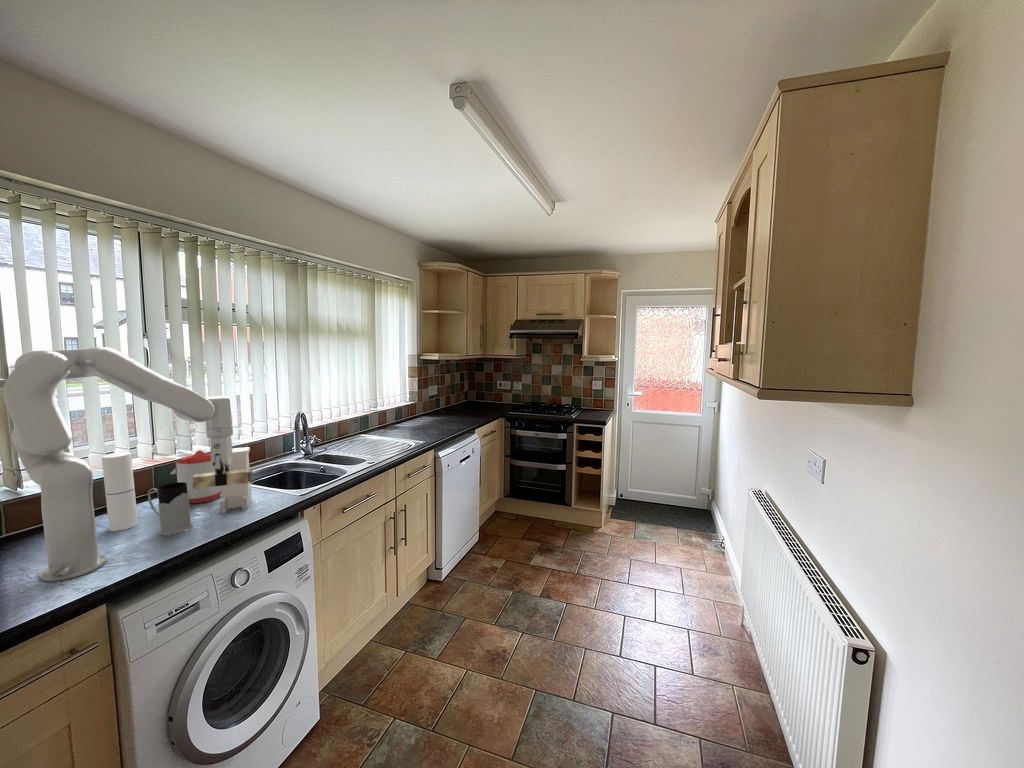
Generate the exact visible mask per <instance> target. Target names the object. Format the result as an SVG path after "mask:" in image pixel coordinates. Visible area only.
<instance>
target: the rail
mask: <svg viewBox="0 0 1024 768" xmlns="http://www.w3.org/2000/svg"><path fill="white" fill-rule="evenodd" d="M225 473H226V476H227V484H226V485H234V484H244V483H249V482H252V481H253V469H245V470H234V471H225ZM192 481H193V489H197V488H207V487H216V485H215V472H214V473H203V474H195V475H194V476H193V477H192ZM223 486H225V485H223Z"/></svg>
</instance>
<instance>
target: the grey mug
mask: <svg viewBox="0 0 1024 768" xmlns="http://www.w3.org/2000/svg"><path fill="white" fill-rule="evenodd" d="M152 490H154V491H155V492H156V494H157V498H158V503H157V504H158V510H157V509H156V507H155V505H154V504H153V501H152V497H151V493H152ZM147 499H148V502H149V506H150V508H151V509H152V511H153V512H154V513H155V514H156V515H157V516H158V517H159V523H160V527H159V528H160V529H159V533H160V534H162V535H161V536H169V535H168V534H174V535H176V534H175V533H178V534H180V533H179V532H182V531H184V532H186V531H185V530H187V529H189V528H191V527H192V526H193V523H192V521H191V511H190V504H189V496H188V492H187V483H185V482H171V483H166V484H163V485H160V486H159V487H158V488H155V487H153V488H151V489H149V490H148V491H147ZM193 527H194V526H193ZM193 527H192V528H193ZM192 528H191V529H192ZM189 530H190V529H189ZM187 531H188V530H187ZM182 533H183V532H182ZM160 534H159V535H160Z"/></svg>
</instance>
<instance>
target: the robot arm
mask: <svg viewBox="0 0 1024 768" xmlns="http://www.w3.org/2000/svg"><path fill="white" fill-rule="evenodd" d="M91 377H97V378H99V379H102V380H103V381H105V382H108V383H109V384H111V385H113V386H116V387H117V388H119V389H122V390H123V391H126V393H129V394H131V395H133V396H135V397H137V398H140V399H142V400H144V401H148V402H152V403H155V404H158V405H161V406H164V407H166V408H169V409H171V410H173V412H174V414H175V416H176V417H178V418H179V419H181V420H185V421H189V422H196V423H203V422H205V428H206V429H205V430H206V432H205V433H206V438H207V439H209V440H210V441H209V442H210V443H209V445H210V450H209V451H210V452H209V453H211V465H212V466H215V485H216V486H223V485H226V484H227V476H226V473H225V471H229V464H230V463H231V461H232V460H233V440H232V436H233V435H234V430H233V429H234V428H233V427H234V426H233V409H232V408H233V407H232V398H231V397H230V396H227V395H216V396H215V395H214V396H209V397H208V396H207V397H204V396H202V395H200V394H199V393H198V392H196V391H194V390H191V389H190V388H188V387H186V386H184V385H182V384H179V383H177V382H175V381H173V380H171V379H170V378H167V377H165V376H163V375H161V374H159V373H157V372H156V371H154V370H152V369H150V368H148V367H146V366H145V365H143V364H141V363H140V362H138V361H136V360H134V359H133V358H130V357H129V356H128V355H126V354H124V353H122V352H120V351H118V350H116V349H114V348H111V347H105V346H104V347H103V346H102V347H101V346H100V347H86V348H85V347H84V348H77V349H76V348H73V349H54V350H53V349H52V350H50V349H49V350H48V349H47V350H33V351H28V352H25V353H23V354H21V355H20V356H19V357H17V359H16V360H15V362H14V369H13V370H12V371H11V373H9V375H8V377H7V379H6V380H5V382H4V386H3V390H2V395H3V401H4V404H5V407H6V410H7V412H8V414H9V416H10V417H9V418H10V419H11V422H12V423H13V426H14V427H13V429H12V431H11V435H10V438H11V443H12V444H13V447H14V449H15V451H16V453H17V455H18V457H19V459H20V461H21V464H22V465H23V467H24V468H25V471H26V473H27V475H28V477H29V478H30V479H31V480H32V482H34V484H36V485H38V486H39V487H40V498H41V499H40V500H41V501H40V504H41V505H40V508H41V517H42V523H43V534H44V541H45V542H44V543H45V551H46V560H47V566H48V567H47V568H45V569H43V571H42V572H40V575H39V577H40V580H42V581H45V582H57V581H64V580H69V579H72V578H76V577H80V576H82V575H87V574H88V573H89V574H90V573H91V572H93V571H95V570H97V569H99V568H101V567H103V566H104V565H105V564H106V563H107V562H108V557H107V555H106V554H102V553H99V548H98V537H97V528H96V527H97V526H96V519H95V518H96V517H95V508H94V501H93V500H94V499H93V486H94V485H93V484H94V475H93V470H92V468H91V466H90V464H88V462H86V460H83V459H82V458H80V457H78V456H75V455H74V453H73V450H72V448H71V446H70V445H71V443H72V439H73V434H72V431H71V429H70V427H69V425H68V424H67V422H66V419H65V418H64V416H63V413H62V411H61V409H60V407H59V404H58V401H57V398H56V389H57V386H58V384H60V382H62V381H63V380H73V379H83V378H91ZM221 464H222V465H221Z"/></svg>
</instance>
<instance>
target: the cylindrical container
mask: <svg viewBox="0 0 1024 768" xmlns="http://www.w3.org/2000/svg"><path fill="white" fill-rule="evenodd" d="M132 461H133V460H132V452H129V451H128V452H127V451H122V452H114V453H108V454H105V455H102V456H101V463H102V464H101V465H102V470H103V471H102V472H103V480H104V481H103V482H104V492H105V499H106V501H105V502H106V511H107V520H108V530H109V531H110V532H120V531H119V530H121V531H124V529H125V530H128V528H129V529H132V528H133V527H136V526H138V513H137V512H138V511H137V501H136V500H137V499H136V490H135V489H136V488H135V481H134V480H135V479H134V471H133V462H132ZM131 527H132V528H131ZM117 530H118V531H117Z"/></svg>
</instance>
